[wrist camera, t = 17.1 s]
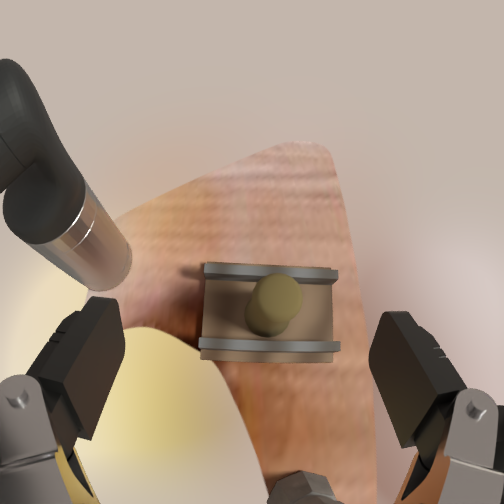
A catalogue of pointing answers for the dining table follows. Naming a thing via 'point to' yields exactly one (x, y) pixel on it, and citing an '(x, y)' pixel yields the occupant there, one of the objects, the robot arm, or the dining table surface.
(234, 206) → the dining table surface
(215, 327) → the walnut track
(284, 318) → the olive waisted cylinder
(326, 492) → the coffeepot
